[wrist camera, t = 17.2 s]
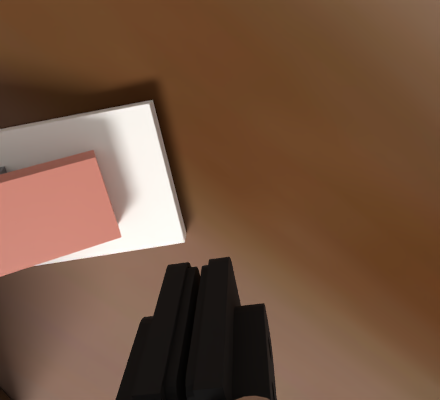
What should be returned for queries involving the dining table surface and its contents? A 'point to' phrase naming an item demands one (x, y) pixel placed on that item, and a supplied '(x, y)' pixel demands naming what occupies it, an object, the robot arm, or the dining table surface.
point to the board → (110, 170)
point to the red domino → (53, 211)
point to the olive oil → (3, 396)
